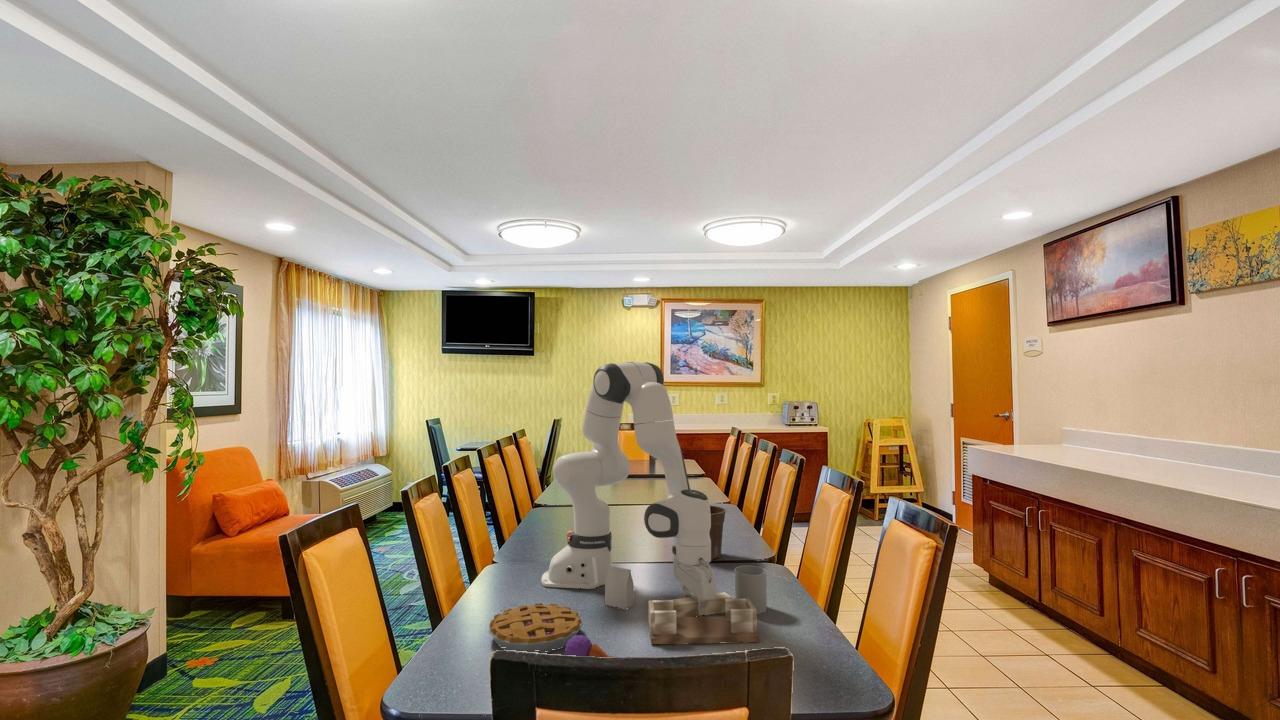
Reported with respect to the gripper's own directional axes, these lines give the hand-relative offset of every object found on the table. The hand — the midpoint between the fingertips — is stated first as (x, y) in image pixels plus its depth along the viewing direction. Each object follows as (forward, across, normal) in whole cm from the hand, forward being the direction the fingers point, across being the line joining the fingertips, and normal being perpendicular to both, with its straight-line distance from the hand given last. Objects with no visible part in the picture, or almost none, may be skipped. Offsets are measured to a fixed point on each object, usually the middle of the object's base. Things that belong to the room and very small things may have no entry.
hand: (694, 607), depth 154 cm
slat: (+2, 0, 0) cm, 2 cm away
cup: (+2, -1, -16) cm, 16 cm away
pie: (+2, -1, +41) cm, 41 cm away
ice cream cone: (+2, -22, +29) cm, 36 cm away
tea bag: (+2, +12, +17) cm, 21 cm away
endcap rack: (+2, -12, +3) cm, 12 cm away
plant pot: (+2, +48, -24) cm, 53 cm away
